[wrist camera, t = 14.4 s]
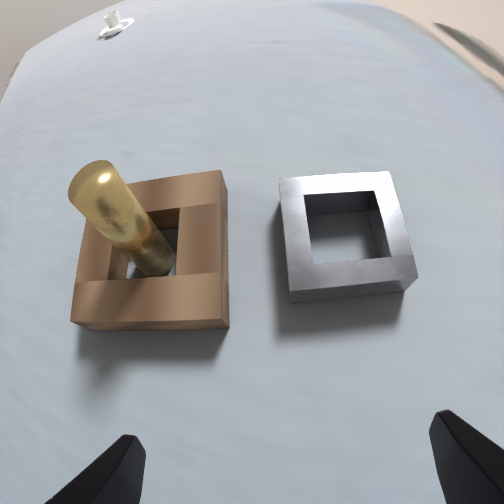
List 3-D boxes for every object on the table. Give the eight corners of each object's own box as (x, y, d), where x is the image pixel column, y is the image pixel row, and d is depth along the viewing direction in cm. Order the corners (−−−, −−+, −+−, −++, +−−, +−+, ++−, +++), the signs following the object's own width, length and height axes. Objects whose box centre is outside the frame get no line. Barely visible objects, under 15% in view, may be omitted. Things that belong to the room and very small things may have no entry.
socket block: (289, 303, 23) (289, 290, 21) (280, 200, 27) (278, 178, 25) (404, 290, 23) (418, 277, 20) (380, 193, 27) (388, 172, 24)
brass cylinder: (138, 278, 26) (62, 210, 16) (141, 244, 27) (75, 166, 17) (174, 276, 25) (108, 201, 15) (176, 240, 27) (119, 155, 17)
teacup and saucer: (121, 36, 49) (114, 20, 45) (91, 43, 50) (84, 29, 46) (140, 17, 52) (135, 3, 48) (111, 24, 53) (106, 10, 50)
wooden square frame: (90, 330, 24) (70, 321, 21) (107, 207, 29) (93, 190, 27) (229, 327, 23) (221, 318, 20) (227, 190, 28) (220, 169, 26)
